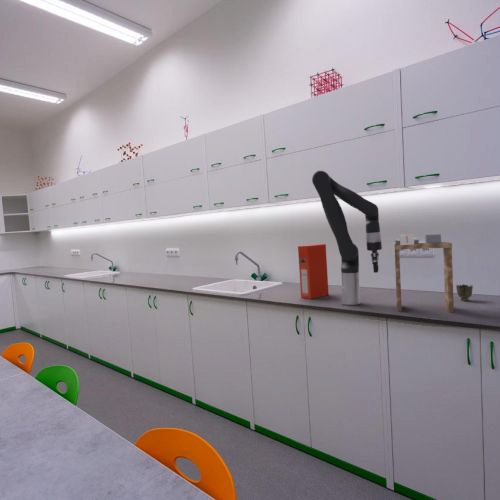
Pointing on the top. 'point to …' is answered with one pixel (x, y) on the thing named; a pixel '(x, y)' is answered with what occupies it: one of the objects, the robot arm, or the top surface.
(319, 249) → the file binder
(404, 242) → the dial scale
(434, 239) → the block
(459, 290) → the cup
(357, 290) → the robot arm
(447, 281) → the oak shelf
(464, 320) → the top surface
